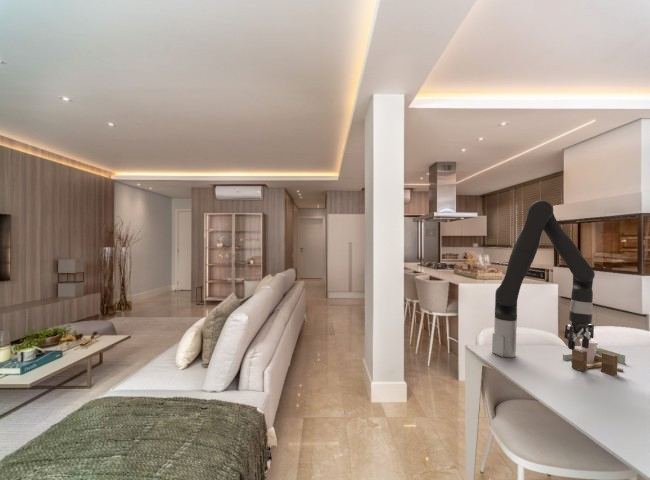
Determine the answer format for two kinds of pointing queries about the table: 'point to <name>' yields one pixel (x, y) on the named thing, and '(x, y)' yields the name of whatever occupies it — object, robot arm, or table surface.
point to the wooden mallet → (584, 360)
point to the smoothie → (590, 350)
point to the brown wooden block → (610, 364)
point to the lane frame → (599, 352)
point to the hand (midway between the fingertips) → (578, 348)
